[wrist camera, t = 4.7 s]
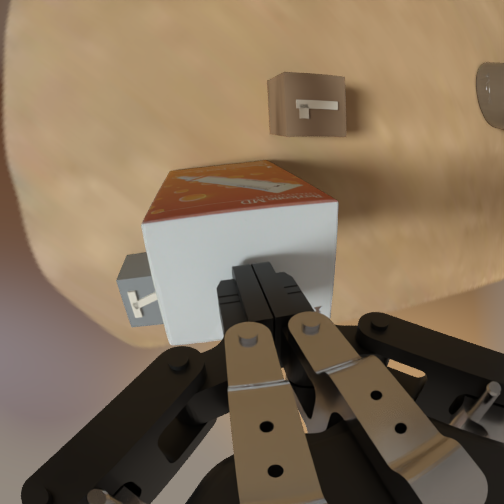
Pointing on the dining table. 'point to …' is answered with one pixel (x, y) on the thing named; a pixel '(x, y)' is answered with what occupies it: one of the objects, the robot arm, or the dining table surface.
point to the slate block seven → (139, 291)
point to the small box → (235, 240)
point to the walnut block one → (307, 105)
